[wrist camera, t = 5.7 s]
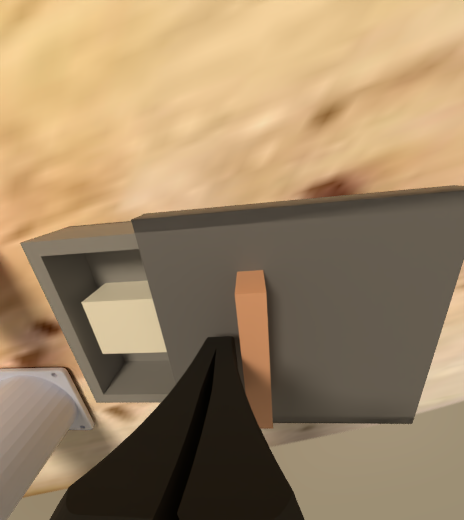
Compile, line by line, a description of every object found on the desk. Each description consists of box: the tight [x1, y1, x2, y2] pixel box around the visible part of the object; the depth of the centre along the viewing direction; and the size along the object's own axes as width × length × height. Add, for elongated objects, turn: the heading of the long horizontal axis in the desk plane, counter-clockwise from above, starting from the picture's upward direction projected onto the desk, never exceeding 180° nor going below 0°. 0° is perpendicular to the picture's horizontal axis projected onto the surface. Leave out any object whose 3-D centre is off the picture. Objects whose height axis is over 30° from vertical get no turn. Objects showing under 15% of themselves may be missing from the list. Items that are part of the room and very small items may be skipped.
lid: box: [131, 185, 464, 428], centre depth 11 cm, size 14×14×3 cm
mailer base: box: [20, 221, 176, 403], centre depth 15 cm, size 14×12×3 cm
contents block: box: [81, 281, 167, 354], centre depth 15 cm, size 5×4×2 cm
